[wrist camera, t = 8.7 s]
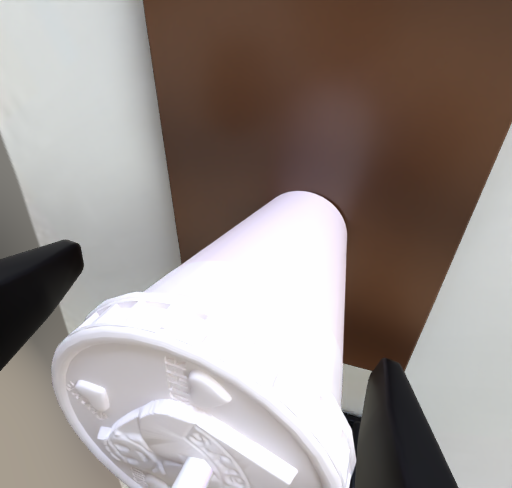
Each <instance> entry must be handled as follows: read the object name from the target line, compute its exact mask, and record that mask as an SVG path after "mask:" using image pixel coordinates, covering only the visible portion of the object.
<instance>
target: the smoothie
mask: <svg viewBox="0 0 512 488" xmlns="http://www.w3.org/2000/svg"><path fill="white" fill-rule="evenodd" d="M346 252H347V229H346V225H345V222H344V219H343V217H342V215H341V214H340V212H339V211H338V210H337V208H336V207H335V206H334V205H333V204H332V203H330V202H329V201H328V200H326V199H325V198H323V197H321V196H319V195H317V194H314V193H311V192H306V191H292V192H287V193H284V194H281V195H279V196H277V197H276V198H274V199H273V200H271V201H270V202H269V203H267V204H266V205H264V206H263V207H262V208H260V209H259V210H257V211H256V212H255V213H253V214H252V215H250V216H249V217H248V218H246V219H245V220H243V221H242V222H241V223H239V224H238V225H236V226H235V227H234V228H232V229H231V230H229V231H228V232H227V233H225V234H224V235H222V236H221V237H220V238H218V239H217V240H215V241H214V242H213V243H211V244H210V245H208V246H207V247H206V248H204V249H203V250H201V251H200V252H198V253H197V254H196V255H194V256H193V257H191V258H190V259H189V260H187V261H186V262H184V263H183V264H182V265H180V266H179V267H177V268H176V269H174V270H173V271H171V272H170V273H168V274H167V275H165V276H164V277H163V278H161V279H160V280H159V281H157V282H156V283H155V284H153V285H152V286H151V287H149V288H148V289H147V290H145V291H144V292H132V293H128V294H125V295H121V296H118V297H114V298H111V299H107V300H105V301H103V302H102V303H101V304H100V305H99V306H98V307H96V308H95V309H94V310H93V311H92V312H91V313H89V314H88V315H87V316H86V318H85V321H84V322H83V323H82V324H81V325H80V326H79V327H78V328H76V329H75V330H74V331H73V332H72V333H71V334H69V335H68V336H67V337H66V338H65V339H64V340H63V341H62V342H61V343H60V344H59V346H58V347H57V349H56V350H55V353H54V356H53V360H52V366H51V373H52V385H53V389H54V392H55V395H56V398H57V402H58V404H59V406H60V408H61V410H62V412H63V414H64V416H65V418H66V420H67V421H68V423H69V424H70V426H71V427H72V429H73V430H74V431H75V433H76V434H77V436H78V437H79V439H80V440H81V441H82V442H83V443H84V444H85V446H86V447H87V448H88V449H89V450H90V451H91V452H92V454H93V455H94V456H95V457H96V458H97V459H98V460H99V461H100V462H101V463H102V464H103V465H104V466H105V467H106V468H107V469H108V470H109V471H110V472H111V473H113V474H114V475H115V476H116V477H117V478H118V479H120V480H121V481H122V482H123V483H124V484H126V485H127V486H128V487H129V488H349V485H350V480H351V477H352V474H353V471H354V467H355V464H356V454H355V448H354V441H353V435H352V429H351V427H350V425H349V423H348V421H347V420H346V418H345V416H344V414H343V412H342V410H341V400H342V382H343V339H344V310H345V281H346Z"/></svg>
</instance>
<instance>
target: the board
mask: <svg viewBox="0 0 512 488" xmlns="http://www.w3.org/2000/svg"><path fill="white" fill-rule="evenodd" d="M143 5H144V12H145V18H146V25H147V32H148V39H149V46H150V52H151V59H152V66H153V73H154V79H155V86H156V93H157V100H158V107H159V113H160V120H161V127H162V134H163V140H164V147H165V154H166V161H167V168H168V174H169V181H170V188H171V195H172V201H173V208H174V215H175V222H176V229H177V235H178V242H179V249H180V256H181V263H182V264H183V263H184V262H186V261H187V260H189V259H190V258H191V257H193V256H194V255H196V254H197V253H198V252H200V251H201V250H203V249H204V248H206V247H207V246H208V245H210V244H211V243H213V242H214V241H215V240H217V239H218V238H220V237H221V236H222V235H224V234H225V233H227V232H228V231H229V230H231V229H232V228H234V227H235V226H236V225H238V224H239V223H241V222H242V221H243V220H245V219H246V218H248V217H249V216H250V215H252V214H253V213H255V212H256V211H257V210H259V209H260V208H262V207H263V206H264V205H266V204H267V203H269V202H270V201H271V200H273V199H274V198H276V197H277V196H279V195H281V194H284V193H287V192H292V191H306V192H311V193H314V194H317V195H319V196H321V197H323V198H325V199H326V200H328V201H329V202H330V203H332V204H333V205H334V206H335V207H336V208H337V210H338V211H339V212H340V214H341V215H342V217H343V219H344V222H345V225H346V229H347V252H346V281H345V310H344V339H343V363H344V364H348V365H352V366H355V367H359V368H363V369H367V370H371V371H373V370H374V369H375V367H376V366H377V364H378V363H379V362H380V360H381V359H382V358H388V359H391V360H394V361H396V362H398V363H400V365H401V366H402V368H403V370H404V371H405V369H406V367H407V365H408V362H409V360H410V358H411V355H412V353H413V351H414V348H415V346H416V344H417V341H418V339H419V337H420V334H421V332H422V330H423V327H424V325H425V323H426V320H427V318H428V316H429V313H430V311H431V309H432V307H433V304H434V302H435V300H436V297H437V295H438V293H439V290H440V288H441V286H442V283H443V281H444V279H445V276H446V274H447V272H448V269H449V267H450V265H451V262H452V260H453V258H454V255H455V253H456V251H457V249H458V246H459V244H460V242H461V239H462V237H463V235H464V232H465V230H466V228H467V225H468V223H469V221H470V218H471V216H472V214H473V211H474V209H475V207H476V204H477V202H478V200H479V197H480V195H481V193H482V190H483V188H484V186H485V184H486V181H487V179H488V177H489V174H490V172H491V170H492V167H493V165H494V163H495V160H496V158H497V156H498V153H499V151H500V149H501V146H502V144H503V142H504V139H505V137H506V135H507V132H508V130H509V128H510V126H511V123H512V0H143Z"/></svg>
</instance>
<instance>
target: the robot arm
mask: <svg viewBox="0 0 512 488" xmlns="http://www.w3.org/2000/svg"><path fill="white" fill-rule="evenodd" d="M83 267H84V262H83V257H82V251H81V247H80V245H79V244H78V243H75V242H72V241H70V240H61V241H58V242H55V243H52V244H48V245H45V246H42V247H39V248H35V249H32V250H29V251H26V252H22V253H19V254H16V255H13V256H9V257H6V258H3V259H0V371H1V370H2V368H3V367H4V366H5V365H6V364H7V363H8V362H9V361H10V359H11V358H12V357H13V356H14V355H15V354H16V353H17V352H18V351H19V350H20V348H21V347H22V346H23V345H24V344H25V343H26V342H27V341H28V339H29V338H30V337H31V336H32V335H33V334H34V333H35V331H36V330H37V329H38V328H39V327H40V326H41V325H42V324H43V322H45V320H46V319H47V318H48V317H49V316H50V314H51V313H52V312H53V311H54V309H55V308H56V307H57V305H58V304H59V303H60V301H61V300H62V299H63V297H64V296H65V294H66V293H67V292H68V290H69V289H70V288H71V286H72V285H73V283H74V282H75V281H76V279H77V278H78V277H79V275H80V274H81V272H82V270H83ZM343 414H344V413H343ZM344 416H345V418H346V420H347V421H348V423H349V425H350V427H351V429H352V435H353V441H354V448H355V454H356V464H355V467H354V471H353V474H352V477H351V480H350V485H349V488H458V486H457V483H456V481H455V479H454V477H453V475H452V473H451V471H450V469H449V466H448V464H447V462H446V460H445V458H444V456H443V454H442V451H441V449H440V447H439V445H438V443H437V441H436V439H435V437H434V434H433V432H432V430H431V428H430V426H429V424H428V422H427V419H426V417H425V415H424V413H423V411H422V409H421V407H420V405H419V402H418V400H417V398H416V396H415V394H414V392H413V390H412V387H411V385H410V383H409V381H408V379H407V377H406V375H405V373H404V370H403V368H402V366H401V365H400V363H398V362H396V361H394V360H391V359H388V358H382V359H381V360H380V362H379V363H378V364H377V366H376V367H375V369H374V370H373V372H372V373H371V375H370V377H369V380H368V385H367V390H366V396H365V401H364V407H363V413H362V418H358V417H354V416H351V415H347V414H344Z"/></svg>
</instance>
